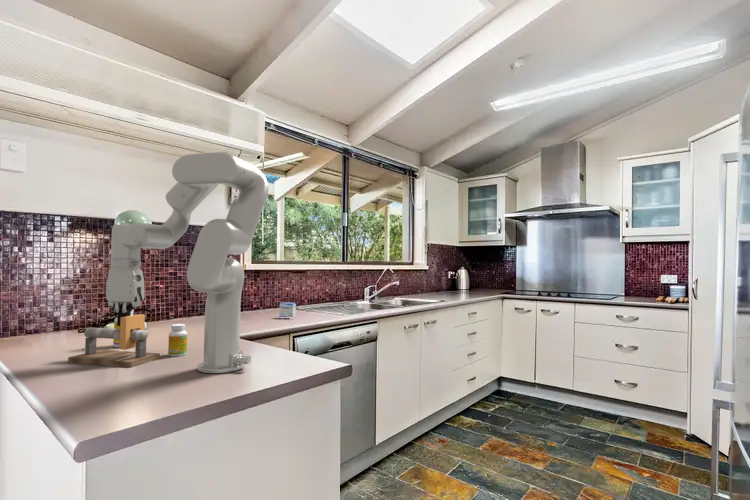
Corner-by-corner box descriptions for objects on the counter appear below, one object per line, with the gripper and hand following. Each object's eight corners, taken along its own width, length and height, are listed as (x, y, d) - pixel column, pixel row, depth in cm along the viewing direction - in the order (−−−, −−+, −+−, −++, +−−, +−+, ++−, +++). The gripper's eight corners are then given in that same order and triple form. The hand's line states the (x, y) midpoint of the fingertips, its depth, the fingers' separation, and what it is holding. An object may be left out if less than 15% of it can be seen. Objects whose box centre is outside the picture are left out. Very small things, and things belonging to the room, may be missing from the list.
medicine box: (279, 319, 213) (279, 302, 214) (282, 317, 218) (282, 302, 218) (292, 319, 212) (293, 303, 212) (295, 318, 216) (296, 302, 217)
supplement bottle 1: (124, 348, 137) (125, 311, 137) (108, 347, 138) (109, 310, 139) (139, 344, 143) (140, 309, 144) (124, 343, 145) (125, 308, 145)
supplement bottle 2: (181, 356, 126) (182, 326, 126) (164, 356, 126) (165, 325, 126) (189, 353, 131) (190, 323, 131) (173, 352, 131) (174, 323, 132)
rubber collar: (143, 345, 123) (144, 314, 123) (125, 349, 116) (126, 317, 116) (138, 344, 123) (139, 314, 123) (119, 349, 116) (120, 317, 116)
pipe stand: (159, 358, 123) (160, 327, 124) (131, 367, 113) (132, 333, 113) (100, 354, 128) (101, 324, 128) (68, 362, 117) (69, 329, 117)
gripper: (155, 265, 123) (154, 324, 122) (115, 264, 126) (113, 322, 125) (136, 265, 116) (134, 328, 115) (94, 264, 119) (92, 326, 118)
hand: (123, 325), depth 120 cm, fingers closed
